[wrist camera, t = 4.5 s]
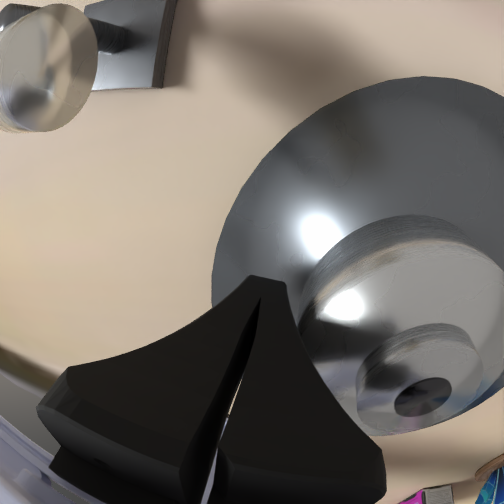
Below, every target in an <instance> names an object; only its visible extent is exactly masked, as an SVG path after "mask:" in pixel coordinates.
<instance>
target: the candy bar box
mask: <svg viewBox="0 0 504 504" xmlns="http://www.w3.org/2000/svg"><path fill="white" fill-rule="evenodd" d="M399 504H454V500H453V492H452V485H442V486H437V487H432V488H427V489H422V490H420V491H418V492H417V493H415V494H414V495H412V496H410V497H409V498H407V499H406V500H404V501H402V502H401V503H399Z"/></svg>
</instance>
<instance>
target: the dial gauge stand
mask: <svg viewBox="0 0 504 504" xmlns="http://www.w3.org/2000/svg"><path fill="white" fill-rule="evenodd" d="M176 3H177V0H104V1H101V2H97V3H93V4H90V5H87V6H85V9H84V14H83V13H82V12H81V11H80V10H79V9H77V8H75V7H73V6H71V5H68V4H51V5H47V6H45V7H35V6H28V5H20V4H8V5H7V6H5V7H4V8H3V9H2V11H1V12H0V130H2V131H5V132H9V133H31V132H47V131H53V130H56V129H58V128H60V127H63V126H64V125H66V124H67V123H69V122H70V121H71V120H72V119H73V118H74V117H75V116H76V115H77V114H78V113H79V111H80V110H81V109H82V107H83V106H84V104H85V103H86V101H87V99H88V97H89V95H90V92H91V91H99V90H114V89H140V88H162V84H163V77H164V69H165V63H166V56H167V50H168V44H169V38H170V33H171V27H172V22H173V17H174V12H175V7H176Z"/></svg>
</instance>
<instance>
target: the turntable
mask: <svg viewBox="0 0 504 504" xmlns="http://www.w3.org/2000/svg"><path fill="white" fill-rule="evenodd" d="M411 214H413V215H427V216H432V217H436V218H440V219H443V220H445V221H448V222H450V223H452V224H454V225H455V226H457V227H458V228H460V229H461V230H463V231H464V232H465V233H466V234H467V235H468V236H469V237H470V238H471V239H472V240H473V241H474V242H476V243H477V244H478V245H479V246H480V247H481V248H482V249H483V250H484V252H485V253H486V254H487V255H488V256H489V257H490V258H491V259H492V260H493V261H494V262H495V263H496V264H497V265H498V266H499V267H500V268H501V270H502V271H503V272H504V97H503V96H501V95H499V94H497V93H495V92H493V91H491V90H489V89H487V88H485V87H483V86H479V85H476V84H473V83H469V82H465V81H462V80H458V79H453V78H441V77H427V76H421V77H411V78H403V79H395V80H388V81H385V82H382V83H378V84H375V85H372V86H369V87H365V88H362V89H359V90H356V91H354V92H352V93H350V94H348V95H346V96H344V97H342V98H340V99H338V100H336V101H334V102H332V103H330V104H328V105H326V106H324V107H323V108H321V109H319V110H318V111H317V112H315V113H314V114H312V115H311V116H310V117H308V118H307V119H306V120H304V121H303V122H302V123H300V124H299V125H298V126H296V127H295V128H294V129H292V130H291V131H290V132H289V133H288V134H287V135H286V136H285V137H284V138H283V139H282V140H281V141H280V142H279V143H278V144H277V145H276V146H275V147H274V148H273V149H272V150H271V151H270V152H269V153H268V154H267V155H266V156H265V157H264V158H263V159H262V161H261V162H260V163H259V165H258V166H257V168H256V169H255V170H254V172H253V173H252V175H251V176H250V177H249V179H248V180H247V181H246V183H245V184H244V186H243V187H242V189H241V190H240V192H239V194H238V196H237V198H236V200H235V202H234V204H233V206H232V208H231V210H230V212H229V214H228V216H227V218H226V220H225V223H224V226H223V229H222V232H221V235H220V238H219V241H218V244H217V247H216V253H215V259H214V265H213V271H212V308H213V307H214V306H216V305H217V304H218V303H219V302H220V301H222V300H223V299H224V298H225V297H226V296H228V295H229V294H230V293H231V292H232V291H233V290H234V289H235V288H236V287H238V286H239V285H240V284H241V283H242V282H243V280H244V279H245V278H246V277H247V276H249V275H255V276H260V277H265V278H269V279H274V280H278V281H283V282H285V284H286V285H287V293H288V298H289V303H290V307H291V310H292V314H293V317H294V320H295V323H296V321H297V312H298V305H299V300H300V296H301V293H302V290H303V287H304V284H305V282H306V280H307V279H308V277H309V275H310V273H311V271H312V270H313V268H314V267H315V266H316V264H317V263H318V261H319V260H320V259H321V258H322V257H323V256H324V255H325V254H326V253H327V251H328V250H330V249H331V248H332V247H333V246H334V245H335V244H337V243H338V242H339V241H340V240H341V239H343V238H344V237H346V236H347V235H349V234H350V233H352V232H353V231H355V230H357V229H359V228H361V227H363V226H365V225H367V224H370V223H373V222H375V221H378V220H381V219H385V218H389V217H394V216H399V215H411ZM244 372H245V371H244ZM243 375H244V374H243ZM242 378H243V376H242ZM503 387H504V370H503V371H502V373H501V374H500V376H499V377H498V378H497V379H496V380H495V382H494V383H493V384H492V385H491V386H490V387H489V388H488V389H487V390H486V391H485V392H484V393H483V394H482V395H481V396H480V397H478V398H477V399H476V400H475V401H473V402H472V403H471V404H469V405H468V406H467V407H465V408H464V409H462V410H461V411H459V412H457V413H456V414H454V415H452V416H451V417H449V418H446V419H444V420H442V421H440V422H438V423H436V424H439V423H442V422H445V421H447V420H449V419H452V418H454V417H456V416H459V415H461V414H463V413H465V412H466V411H468V410H470V409H472V408H474V407H476V406H477V405H479V404H481V403H482V402H484V401H485V400H487V399H488V398H490V397H491V396H493V395H494V394H495V393H497V392H498V391H499V390H500V389H502V388H503ZM436 424H433V425H436ZM433 425H431V426H433ZM428 427H430V426H428ZM425 428H427V427H425ZM422 429H423V428H422Z"/></svg>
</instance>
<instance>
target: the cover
mask: <svg viewBox="0 0 504 504" xmlns="http://www.w3.org/2000/svg"><path fill="white" fill-rule="evenodd" d="M296 326H297V328H298V331H299V334H300V336H301V338H302V341H303V343H304V345H305V348H306V350H307V352H308V354H309V356H310V358H311V360H312V362H313V363H314V365H315V367H316V369H317V371H318V372H319V374H320V376H321V377H322V379H323V381H324V382H325V384H326V385H327V387H328V388H329V389H330V391H331V392H332V394H333V395H334V397H335V398H336V399H337V401H338V402H339V404H340V405H341V406H342V408H343V409H344V410H345V411H346V413H347V414H348V415H349V416H350V417H351V419H352V420H353V421H354V422H355V423H356V424H357V425H358V426H359V427H360V428H361V429H362V430H363V431H364V432H365V433H366V434H367V435H368V436H385V435H395V434H402V433H407V432H411V431H415V430H419V429H422V428H425V427H428V426H431V425H433V424H436V423H438V422H440V421H442V420H444V419H446V418H449V417H451V416H452V415H454V414H456V413H457V412H459V411H461V410H462V409H464V408H465V407H467V406H468V405H469V404H471V403H472V402H473V401H475V400H476V399H477V398H478V397H480V396H481V395H482V394H483V393H484V392H485V391H486V390H487V389H488V388H489V387H490V386H491V385H492V384H493V383H494V382H495V380H496V379H497V378H498V377H499V376H500V374H501V373H502V371H503V370H504V272H503V271H502V270H501V268H500V267H499V266H498V265H497V264H496V263H495V262H494V261H493V260H492V259H491V258H490V257H489V256H488V255H487V254H486V253H485V252H484V250H483V249H482V248H481V247H480V246H479V245H478V244H477V243H476V242H474V241H473V240H472V239H471V238H470V237H469V236H468V235H467V234H466V233H465V232H464V231H463V230H461V229H460V228H458V227H457V226H455V225H454V224H452V223H450V222H448V221H445V220H443V219H440V218H436V217H432V216H427V215H413V214H411V215H399V216H394V217H389V218H385V219H381V220H378V221H375V222H373V223H370V224H367V225H365V226H363V227H361V228H359V229H357V230H355V231H353V232H352V233H350V234H349V235H347V236H346V237H344V238H343V239H341V240H340V241H339V242H338V243H337V244H335V245H334V246H333V247H332V248H331V249H330V250H328V251H327V253H326V254H325V255H324V256H323V257H322V258H321V259H320V260H319V261H318V263H317V264H316V266H315V267H314V268H313V270H312V271H311V273H310V275H309V277H308V279H307V280H306V282H305V284H304V287H303V290H302V293H301V296H300V300H299V305H298V312H297V321H296Z"/></svg>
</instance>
